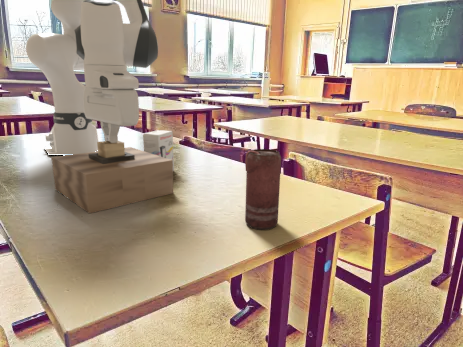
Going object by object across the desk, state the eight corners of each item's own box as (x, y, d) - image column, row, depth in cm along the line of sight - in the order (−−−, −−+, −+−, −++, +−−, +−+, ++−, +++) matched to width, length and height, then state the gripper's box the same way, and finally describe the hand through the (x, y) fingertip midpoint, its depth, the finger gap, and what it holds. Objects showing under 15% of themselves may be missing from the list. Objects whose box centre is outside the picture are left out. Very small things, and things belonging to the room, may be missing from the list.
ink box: (160, 178, 97) (158, 135, 94) (143, 176, 98) (141, 133, 95) (175, 170, 105) (173, 130, 102) (159, 169, 106) (157, 129, 103)
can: (242, 218, 71) (243, 148, 67) (273, 217, 71) (277, 148, 68) (245, 230, 65) (248, 154, 61) (280, 230, 65) (284, 154, 62)
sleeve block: (55, 190, 86) (51, 153, 83) (132, 175, 99) (130, 143, 97) (89, 213, 72) (85, 169, 69) (173, 193, 85) (172, 155, 83)
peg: (100, 179, 85) (97, 142, 82) (117, 176, 88) (115, 140, 85) (108, 183, 82) (105, 144, 79) (126, 180, 84) (124, 142, 82)
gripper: (73, 79, 84) (79, 137, 87) (113, 80, 69) (118, 150, 73) (100, 79, 88) (104, 135, 92) (142, 80, 74) (146, 146, 77)
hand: (111, 142), depth 82 cm, fingers closed, pressing on peg
